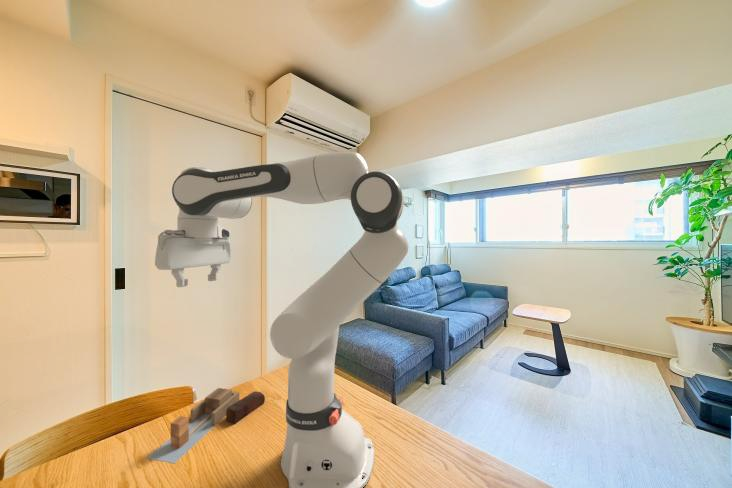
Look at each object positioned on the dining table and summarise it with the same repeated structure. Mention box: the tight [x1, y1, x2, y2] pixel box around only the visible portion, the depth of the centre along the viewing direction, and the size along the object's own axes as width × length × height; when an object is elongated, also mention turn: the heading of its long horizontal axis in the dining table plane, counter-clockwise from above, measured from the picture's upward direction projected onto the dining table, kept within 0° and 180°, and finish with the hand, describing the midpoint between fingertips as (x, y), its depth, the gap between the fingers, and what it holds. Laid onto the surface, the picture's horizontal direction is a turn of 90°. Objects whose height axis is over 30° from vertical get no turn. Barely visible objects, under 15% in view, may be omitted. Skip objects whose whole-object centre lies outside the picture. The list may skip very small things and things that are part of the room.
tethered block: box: [170, 387, 233, 449], centre depth 70 cm, size 5×17×6 cm, turn 169°
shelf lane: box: [146, 390, 240, 464], centre depth 69 cm, size 8×22×4 cm, turn 169°
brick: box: [225, 391, 266, 425], centre depth 76 cm, size 11×4×5 cm, turn 154°
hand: (198, 283), depth 66 cm, fingers open, 8 cm apart
